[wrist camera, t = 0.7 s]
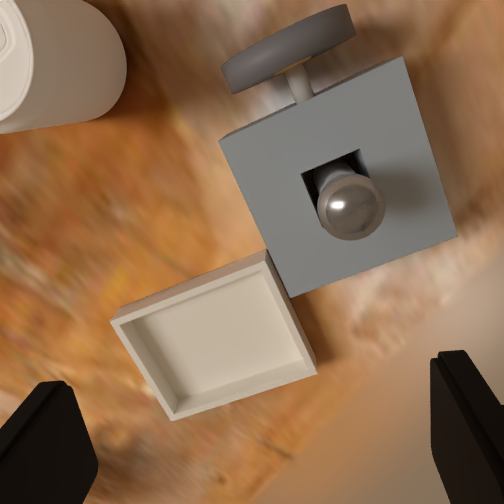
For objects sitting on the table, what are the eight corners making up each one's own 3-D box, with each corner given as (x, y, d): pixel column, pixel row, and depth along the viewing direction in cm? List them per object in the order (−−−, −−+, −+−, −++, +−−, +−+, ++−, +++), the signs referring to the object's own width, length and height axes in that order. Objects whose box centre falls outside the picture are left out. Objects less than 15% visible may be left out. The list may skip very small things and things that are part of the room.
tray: (266, 249, 35) (264, 260, 33) (315, 356, 38) (317, 373, 36) (120, 307, 38) (109, 321, 36) (177, 402, 41) (171, 421, 39)
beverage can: (152, 64, 31) (79, 49, 20) (83, 143, 33) (-18, 170, 22) (64, -30, 29) (-71, -105, 18) (-2, 60, 32) (-159, 44, 20)
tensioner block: (364, 3, 29) (396, -31, 21) (433, 215, 33) (480, 254, 25) (204, 82, 31) (177, 80, 23) (289, 271, 36) (291, 322, 28)
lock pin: (346, 143, 32) (372, 165, 23) (362, 187, 33) (394, 226, 24) (301, 163, 33) (308, 192, 23) (318, 206, 34) (332, 250, 24)
